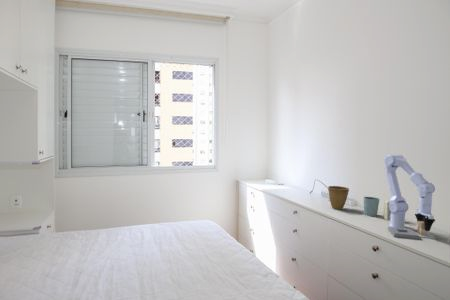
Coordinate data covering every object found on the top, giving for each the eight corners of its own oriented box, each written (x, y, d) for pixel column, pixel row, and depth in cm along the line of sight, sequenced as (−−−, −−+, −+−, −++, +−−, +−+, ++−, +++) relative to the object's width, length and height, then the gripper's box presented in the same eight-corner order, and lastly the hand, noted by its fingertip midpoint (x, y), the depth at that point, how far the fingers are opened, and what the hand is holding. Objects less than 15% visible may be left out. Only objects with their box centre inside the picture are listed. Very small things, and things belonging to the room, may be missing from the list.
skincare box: (392, 218, 216) (393, 200, 215) (395, 220, 211) (396, 202, 211) (383, 218, 215) (384, 200, 215) (386, 220, 211) (387, 201, 210)
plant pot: (323, 208, 242) (324, 186, 241) (333, 205, 252) (334, 185, 251) (341, 211, 231) (342, 189, 230) (351, 209, 241) (352, 188, 240)
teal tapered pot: (359, 213, 227) (360, 197, 226) (369, 212, 231) (370, 196, 231) (372, 217, 218) (372, 199, 217) (381, 216, 222) (382, 198, 222)
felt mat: (412, 232, 184) (412, 231, 184) (429, 234, 182) (429, 233, 182) (417, 237, 176) (417, 235, 176) (435, 238, 173) (435, 237, 173)
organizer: (388, 229, 188) (388, 226, 188) (410, 232, 185) (410, 228, 185) (394, 236, 174) (394, 233, 174) (418, 239, 171) (419, 235, 171)
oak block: (417, 233, 181) (418, 220, 181) (424, 233, 181) (425, 221, 180) (420, 235, 177) (421, 222, 177) (428, 235, 177) (429, 223, 176)
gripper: (411, 201, 186) (410, 224, 186) (424, 207, 171) (422, 232, 172) (424, 202, 185) (423, 225, 186) (438, 207, 171) (436, 233, 171)
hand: (423, 228), depth 179 cm, fingers open, 7 cm apart
